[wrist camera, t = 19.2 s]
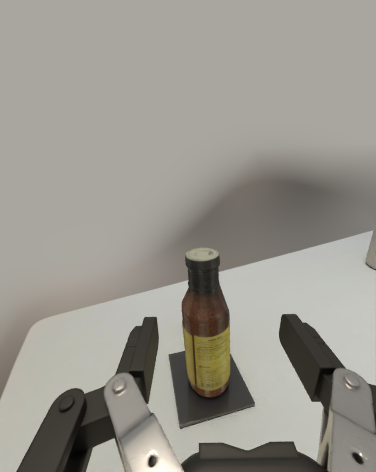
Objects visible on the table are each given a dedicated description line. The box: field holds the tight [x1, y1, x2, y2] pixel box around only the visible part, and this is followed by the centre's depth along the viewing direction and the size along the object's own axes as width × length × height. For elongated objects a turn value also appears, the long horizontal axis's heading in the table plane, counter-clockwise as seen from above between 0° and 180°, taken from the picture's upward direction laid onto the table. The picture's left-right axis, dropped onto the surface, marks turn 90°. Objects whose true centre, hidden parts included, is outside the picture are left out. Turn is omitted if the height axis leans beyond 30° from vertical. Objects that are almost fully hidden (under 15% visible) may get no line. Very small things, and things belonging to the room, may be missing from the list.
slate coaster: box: [169, 351, 255, 428], centre depth 29 cm, size 10×10×1 cm
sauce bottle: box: [182, 248, 230, 397], centre depth 26 cm, size 6×6×20 cm
